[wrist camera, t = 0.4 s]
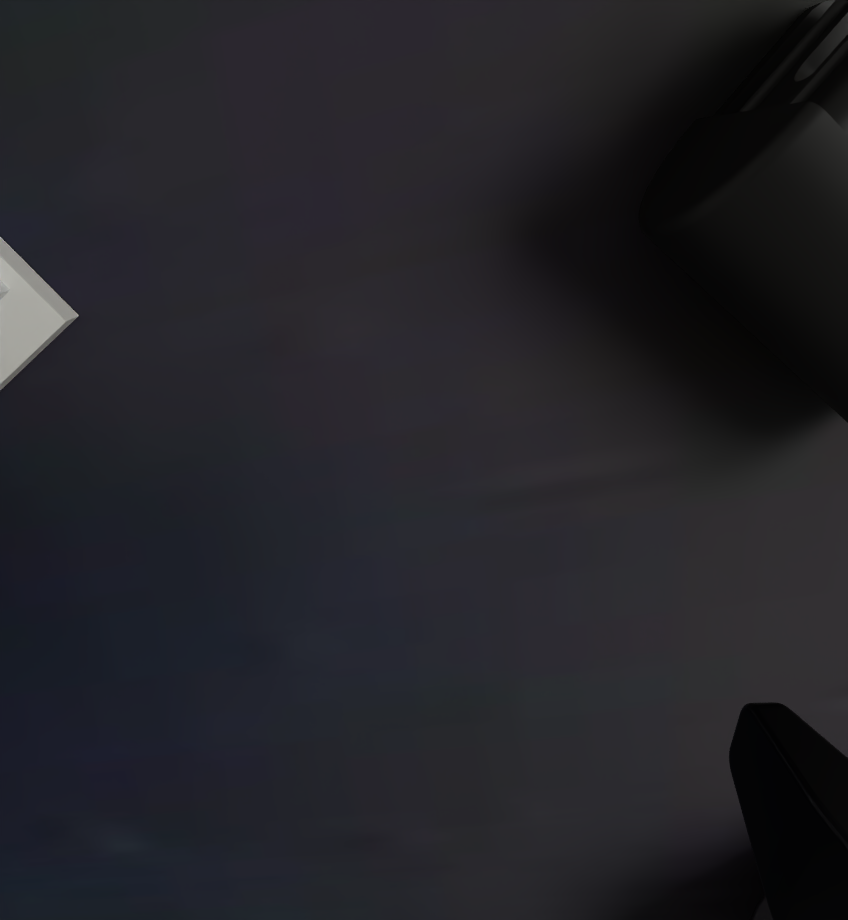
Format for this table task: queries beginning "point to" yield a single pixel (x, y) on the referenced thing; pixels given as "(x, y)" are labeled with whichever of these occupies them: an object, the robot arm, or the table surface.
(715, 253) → the black piece
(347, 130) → the table surface
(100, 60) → the table surface
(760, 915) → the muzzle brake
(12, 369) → the white slotted stand
